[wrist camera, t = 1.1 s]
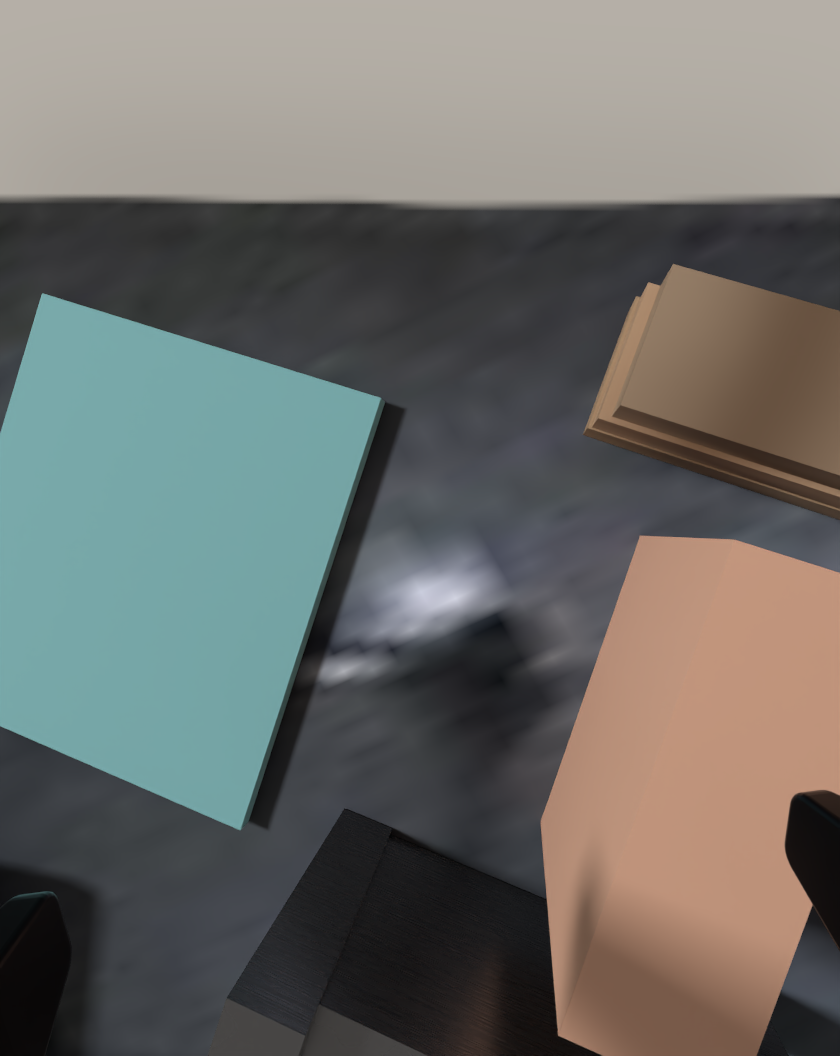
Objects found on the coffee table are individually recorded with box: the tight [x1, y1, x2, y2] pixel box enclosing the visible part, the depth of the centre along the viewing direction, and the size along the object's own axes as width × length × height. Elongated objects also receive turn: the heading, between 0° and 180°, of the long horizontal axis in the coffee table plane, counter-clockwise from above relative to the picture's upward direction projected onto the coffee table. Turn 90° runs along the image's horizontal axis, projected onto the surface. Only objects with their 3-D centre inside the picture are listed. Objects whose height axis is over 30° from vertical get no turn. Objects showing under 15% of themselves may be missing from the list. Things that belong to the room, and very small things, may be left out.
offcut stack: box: [583, 264, 840, 520], centre depth 16 cm, size 8×4×4 cm, turn 70°
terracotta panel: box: [541, 536, 840, 1056], centre depth 14 cm, size 3×9×8 cm, turn 161°
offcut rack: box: [208, 809, 788, 1056], centre depth 15 cm, size 12×2×8 cm, turn 71°
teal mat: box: [0, 293, 385, 830], centre depth 20 cm, size 12×14×1 cm
